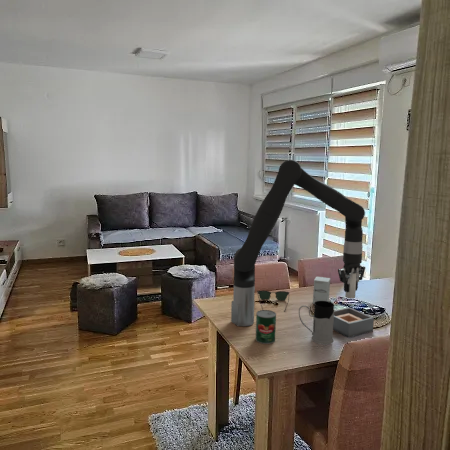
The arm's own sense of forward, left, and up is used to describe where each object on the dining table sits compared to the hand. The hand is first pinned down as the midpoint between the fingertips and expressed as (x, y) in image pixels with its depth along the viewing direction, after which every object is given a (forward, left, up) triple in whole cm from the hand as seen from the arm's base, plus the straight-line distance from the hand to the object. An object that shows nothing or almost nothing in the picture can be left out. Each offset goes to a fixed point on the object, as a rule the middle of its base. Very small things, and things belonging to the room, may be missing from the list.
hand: (350, 290), depth 171 cm
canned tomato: (-38, +7, -17) cm, 42 cm away
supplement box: (+11, +30, -17) cm, 36 cm away
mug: (-20, -2, -17) cm, 26 cm away
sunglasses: (-12, +38, -17) cm, 44 cm away
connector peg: (0, 0, -3) cm, 3 cm away
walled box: (0, 0, -17) cm, 17 cm away
